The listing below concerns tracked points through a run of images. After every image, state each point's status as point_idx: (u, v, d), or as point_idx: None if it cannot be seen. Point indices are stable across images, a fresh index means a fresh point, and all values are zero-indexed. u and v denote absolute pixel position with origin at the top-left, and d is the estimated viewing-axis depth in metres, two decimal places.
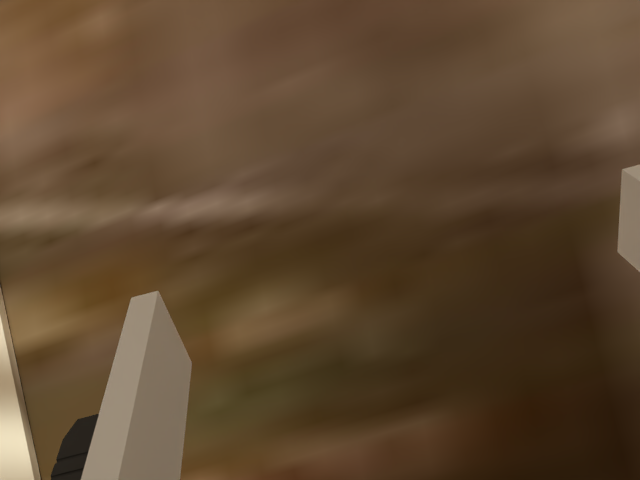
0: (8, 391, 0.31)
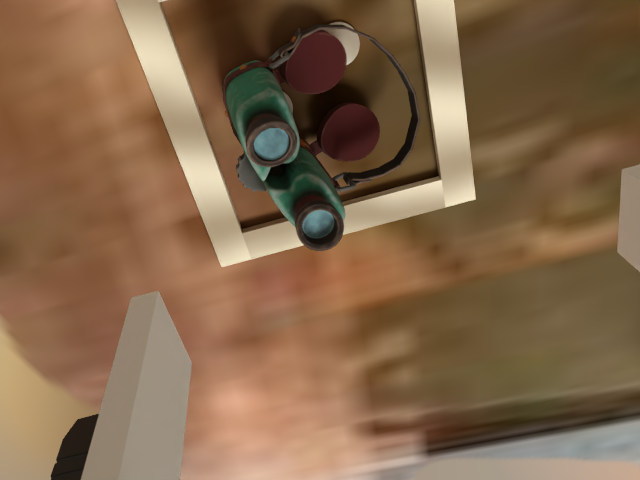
0: (453, 64, 0.32)
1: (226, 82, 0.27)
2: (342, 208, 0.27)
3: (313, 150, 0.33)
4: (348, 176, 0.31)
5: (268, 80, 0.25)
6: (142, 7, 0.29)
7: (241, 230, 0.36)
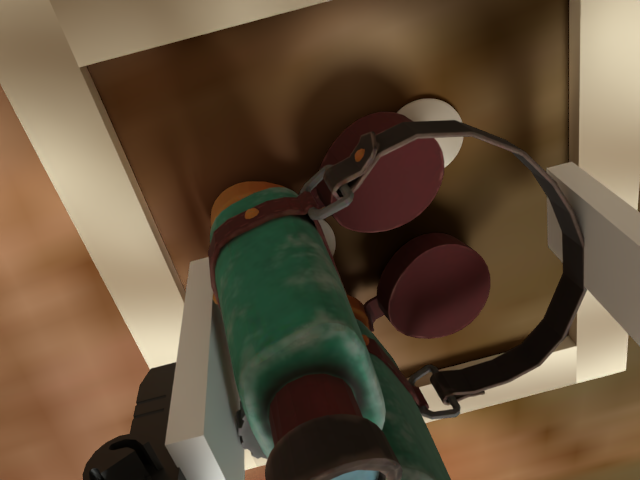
0: (627, 171, 0.18)
1: (216, 247, 0.13)
2: None
3: (370, 316, 0.19)
4: (442, 384, 0.17)
5: (314, 275, 0.11)
6: (46, 77, 0.14)
7: None
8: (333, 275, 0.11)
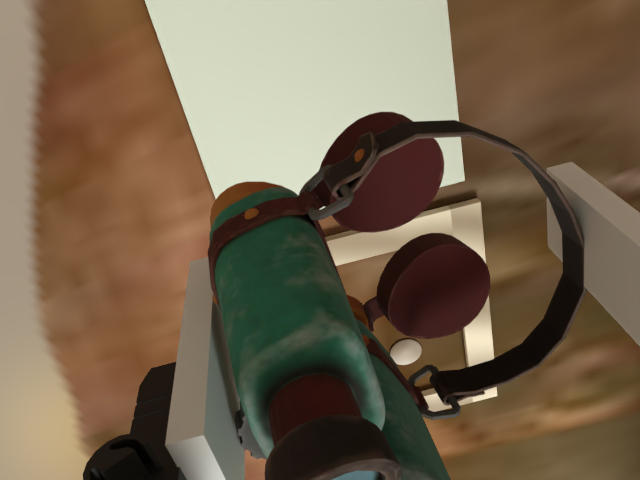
0: (484, 312, 0.41)
1: (215, 247, 0.13)
2: None
3: (370, 316, 0.19)
4: (441, 384, 0.17)
5: (314, 275, 0.11)
6: None
7: None
8: (333, 275, 0.11)
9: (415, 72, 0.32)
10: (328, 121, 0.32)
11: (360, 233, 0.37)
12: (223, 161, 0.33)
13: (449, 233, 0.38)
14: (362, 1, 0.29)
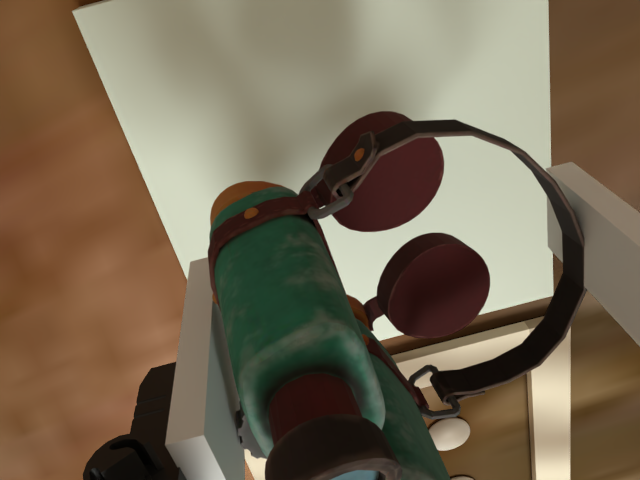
0: (562, 445, 0.31)
1: (215, 247, 0.13)
2: None
3: (370, 315, 0.19)
4: (442, 383, 0.17)
5: (314, 274, 0.11)
6: None
7: None
8: (333, 275, 0.11)
9: (496, 159, 0.22)
10: None
11: (406, 361, 0.27)
12: None
13: None
14: (425, 62, 0.20)
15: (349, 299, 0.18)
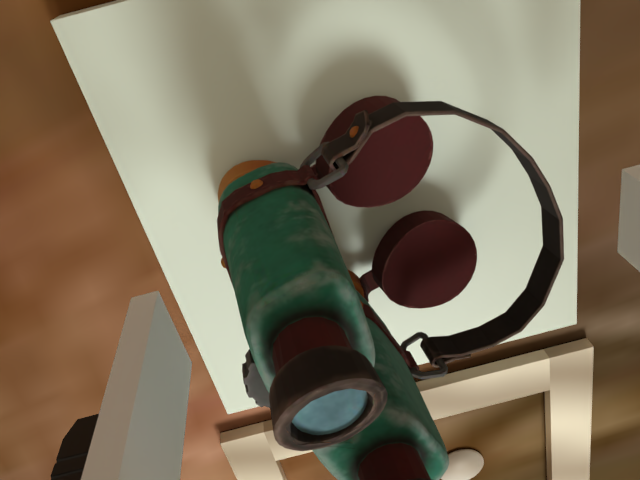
0: (581, 476, 0.30)
1: (224, 214, 0.14)
2: (445, 457, 0.14)
3: (365, 288, 0.20)
4: (431, 348, 0.18)
5: (312, 233, 0.12)
6: (257, 465, 0.26)
7: None
8: (329, 235, 0.13)
9: (518, 180, 0.20)
10: None
11: None
12: (216, 312, 0.21)
13: (544, 387, 0.26)
14: (443, 76, 0.18)
15: None
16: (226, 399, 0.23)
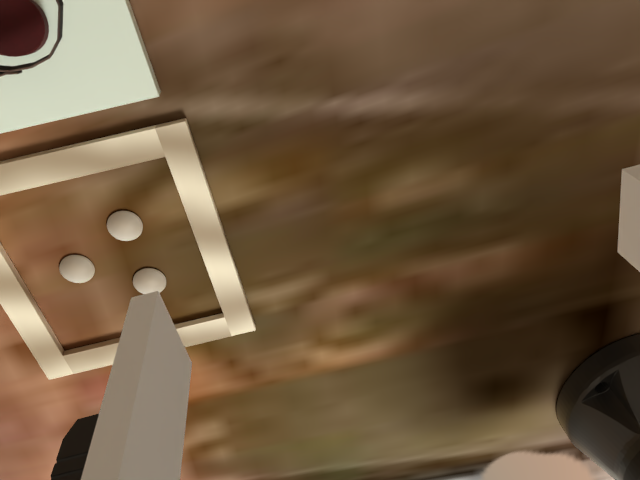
0: (219, 240, 0.41)
1: None
2: None
3: None
4: None
5: None
6: None
7: (62, 353, 0.45)
8: None
9: None
10: None
11: (63, 150, 0.36)
12: None
13: (160, 154, 0.37)
14: None
15: None
16: None
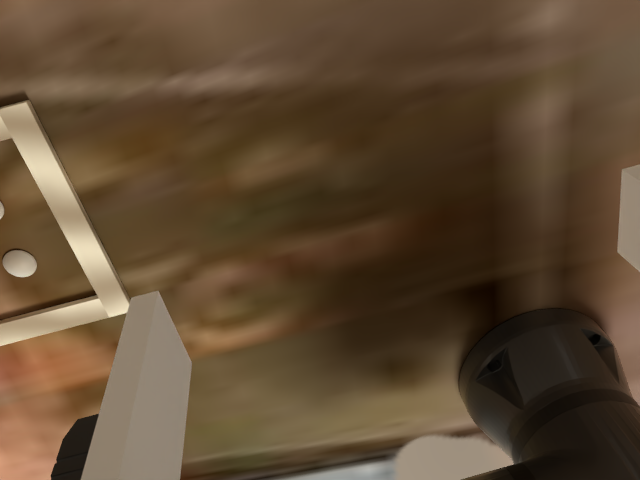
0: (80, 220, 0.42)
1: None
2: None
3: None
4: None
5: None
6: None
7: None
8: None
9: None
10: None
11: None
12: None
13: (6, 135, 0.38)
14: None
15: None
16: None
